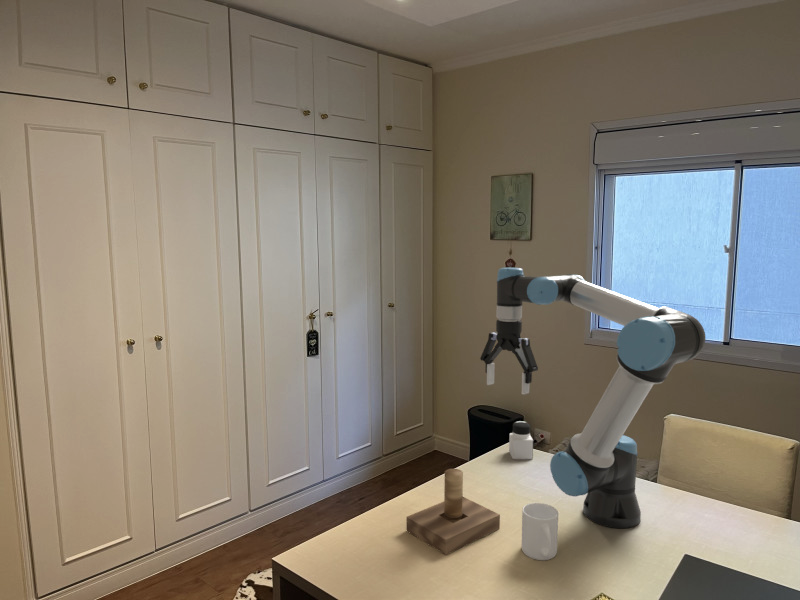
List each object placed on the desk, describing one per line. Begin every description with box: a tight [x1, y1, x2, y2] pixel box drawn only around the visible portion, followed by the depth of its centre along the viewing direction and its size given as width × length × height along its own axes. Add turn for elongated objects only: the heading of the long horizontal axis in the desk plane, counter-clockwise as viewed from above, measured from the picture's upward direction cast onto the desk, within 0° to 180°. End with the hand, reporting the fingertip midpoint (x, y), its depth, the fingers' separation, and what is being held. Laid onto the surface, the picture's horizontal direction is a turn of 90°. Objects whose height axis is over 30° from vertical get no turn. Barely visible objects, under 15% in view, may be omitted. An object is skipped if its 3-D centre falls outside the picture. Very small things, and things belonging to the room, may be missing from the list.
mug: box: [521, 502, 559, 561], centre depth 142 cm, size 9×12×11 cm
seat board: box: [405, 496, 501, 556], centre depth 155 cm, size 15×20×4 cm
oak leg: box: [443, 468, 464, 523], centre depth 154 cm, size 5×5×16 cm
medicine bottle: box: [508, 420, 534, 460], centre depth 206 cm, size 7×7×12 cm
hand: (507, 388), depth 176 cm, fingers open, 13 cm apart
